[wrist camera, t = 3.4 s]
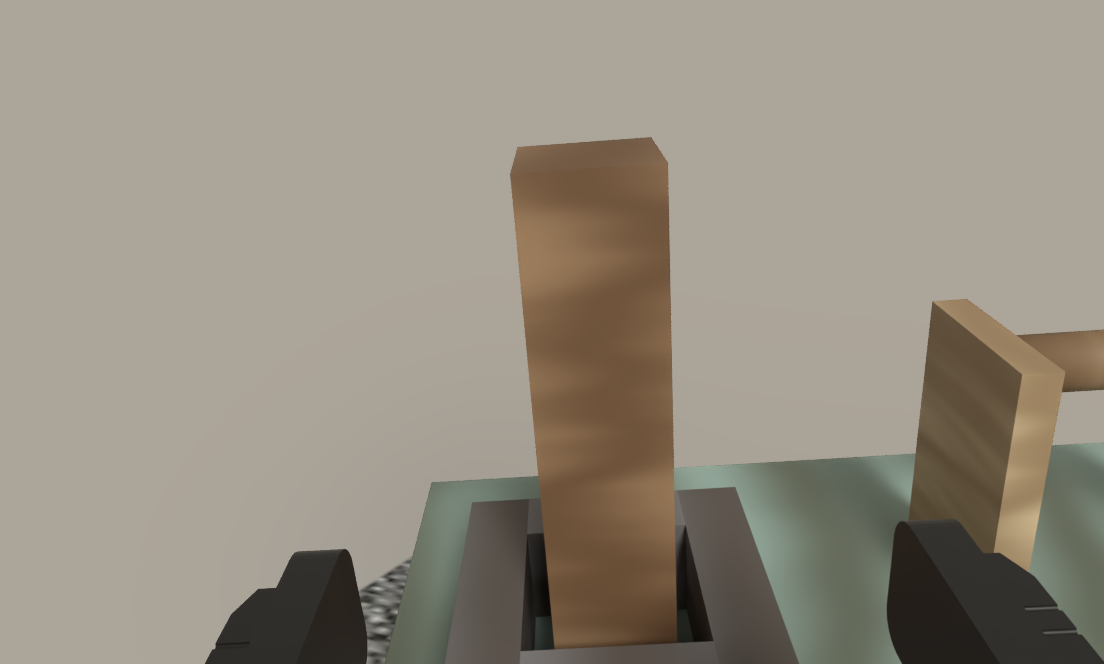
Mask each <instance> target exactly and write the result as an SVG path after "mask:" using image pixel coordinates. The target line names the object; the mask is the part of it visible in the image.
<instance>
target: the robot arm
mask: <svg viewBox="0 0 1104 664" xmlns="http://www.w3.org/2000/svg"><path fill="white" fill-rule="evenodd" d="M887 622H888V628H889V633H890V637H891V641H892V644H893V646H894V649H895V651H896V653H897V655H898V657H899V659H900V661H901V663H902V664H1104V661H1103V660H1102V659H1101V657H1100V656H1099V655H1098V654H1097V652H1096V651H1095V650H1094V649H1093V647H1092V646H1091V645H1090V644H1089V643H1088V641H1087V640H1086V639H1085V638H1084V636H1083V635H1082V634H1078V633H1077V628H1076V627H1075V625H1074V624H1073V623H1072V622H1071V620H1070V619H1069V618H1068V617H1067V615H1066V614H1065V613H1064V612H1063V611H1062V610H1059V609H1058V604H1057V603H1056V602H1055V601H1054V599H1053V598H1052V597H1051V596H1050V595H1049V593H1048V592H1047V591H1046V590H1045V588H1044V587H1043V586H1042V585H1041V583H1040V582H1039V581H1038V580H1037V579H1036V577H1035V576H1034V575H1032V574H1031V573H1029V572H1028V571H1026V570H1025V569H1023V568H1022V567H1020V566H1019V565H1017V564H1016V563H1014V562H1013V561H1011V560H1010V559H1008V558H1007V557H1006V556H1004V555H1003V554H1001V553H983V552H982V551H981V550H980V548H979V547H978V546H977V544H976V543H975V542H974V540H973V539H972V538H971V536H970V535H969V534H968V532H967V531H966V530H965V528H964V527H963V526H962V525H961V523H960V522H959V521H957V520H956V519H933V520H914V521H901V522H899V523H898V524H897V526H896V528H895V532H894V540H893V550H892V559H891V568H890V578H889V587H888V597H887ZM366 661H367V632H366V626H365V621H364V616H363V611H362V606H361V602H360V597H359V592H358V587H357V582H356V577H355V572H354V567H353V562H352V558H351V556H350V554H349V552H348V550H346V549H339V550H320V551H301V552H296V553H294V554H293V555H292V557H291V559H290V560H289V563H288V565H287V567H286V569H285V571H284V573H283V575H282V577H281V579H280V581H279V584H278V585H277V587H276V588H267V589H258V590H257V591H256V592H255V593H254V594H252V595H251V596H250V597H249V598H248V599H247V600H246V601H245V602H244V603H243V604H242V605H241V606H240V607H239V608H238V609H237V610H236V611H234V612H233V613H232V614H231V616H230V617H229V619H228V622H227V623H226V625H225V627H224V629H223V631H222V632H221V634H220V636H219V638H218V640H217V642H216V648H215V649H213V650H212V651H211V653H210V655H209V657H208V659H207V661H206V663H205V664H366Z"/></svg>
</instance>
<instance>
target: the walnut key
mask: <svg viewBox="0 0 1104 664" xmlns="http://www.w3.org/2000/svg"><path fill="white" fill-rule="evenodd" d="M510 176H511V186H512V198H513V208H514V218H515V230H516V239H517V251H518V262H519V273H520V283H521V294H522V304H523V315H524V326H525V337H526V347H527V358H528V369H529V380H530V390H531V400H532V412H533V422H534V432H535V443H536V455H537V465H538V475H539V487H540V497H541V508H542V519H543V529H544V540H545V551H546V562H547V572H548V583H549V594H550V604H551V615H552V626H553V636H554V647H555V649H574V648H593V647H612V646H631V645H650V644H669V643H677V602H676V551H675V501H674V451H673V399H672V349H671V299H670V252H669V197H668V162H667V161H666V159H665V158H664V156H663V155H662V153H661V151H660V150H659V148H658V147H657V145H656V144H655V142H654V141H653V139H652V138H651V137H650V138H649V137H648V138H635V139H622V140H608V141H594V142H580V143H567V144H554V145H540V146H526V147H517V151H516V155H515V158H514V162H513V166H512V170H511V174H510Z"/></svg>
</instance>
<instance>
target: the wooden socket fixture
mask: <svg viewBox="0 0 1104 664" xmlns="http://www.w3.org/2000/svg"><path fill="white" fill-rule="evenodd" d="M1091 390H1104V330H1092V331H1077V332H1060V333H1045V334H1029V335H1015V334H1014V333H1012V332H1011V331H1009V330H1008V329H1007V328H1005V327H1004V326H1003V325H1001V324H1000V323H999V322H997V321H996V320H994V319H993V318H992V317H991V316H989V315H988V314H986V313H985V312H984V311H983V310H981V309H980V308H978V307H977V306H976V305H974V304H973V303H972V302H970V301H969V300H967V299H961V300H946V301H933V302H932V311H931V320H930V329H929V338H928V348H927V356H926V365H925V375H924V383H923V393H922V401H921V411H920V419H919V429H918V438H917V447H916V454H903V455H885V456H868V457H853V458H837V459H820V460H819V459H818V460H801V461H785V462H768V463H751V464H736V465H735V464H734V465H718V466H701V467H684V468H674V501H675V551H676V602H677V643H669V644H650V645H631V646H612V647H593V648H574V649H555V647H554V636H553V626H552V615H551V604H550V594H549V583H548V572H547V562H546V551H545V540H544V529H543V519H542V508H541V497H540V487H539V476H533V477H518V478H501V479H483V480H467V481H449V482H434V483H433V482H432V484H431V488H430V491H429V495H428V499H427V503H426V507H425V510H424V514H423V518H422V522H421V526H420V530H419V533H418V537H417V542H416V545H415V549H414V553H413V557H412V560H411V564H410V568H409V572H408V576H407V580H406V584H405V587H404V591H403V595H402V599H401V603H400V607H399V610H398V614H397V618H396V622H395V626H394V630H393V634H392V637H391V641H390V645H389V649H388V653H387V657H386V660H385V664H902V663H901V661H900V659H899V657H898V655H897V653H896V651H895V649H894V646H893V644H892V641H891V637H890V633H889V628H888V622H887V597H888V587H889V578H890V568H891V559H892V550H893V540H894V532H895V528H896V526H897V524H898V523H899V522H901V521H914V520H933V519H956V520H957V521H959V522H960V523H961V525H962V526H963V527H964V528H965V530H966V531H967V532H968V534H969V535H970V536H971V538H972V539H973V540H974V542H975V543H976V544H977V546H978V547H979V548H980V550H981V551H982V552H983V553H1001V554H1003V555H1004V556H1006V557H1007V558H1008V559H1010V560H1011V561H1013V562H1014V563H1016V564H1017V565H1019V566H1020V567H1022V568H1023V569H1025V570H1026V571H1028V572H1029V573H1031V574H1032V575H1034V576H1035V577H1036V579H1037V580H1038V581H1039V582H1040V583H1041V585H1042V586H1043V587H1044V588H1045V590H1046V591H1047V592H1048V593H1049V595H1050V596H1051V597H1052V598H1053V599H1054V601H1055V602H1056V603H1057V604H1058V609H1059V610H1062V611H1063V612H1064V613H1065V614H1066V615H1067V617H1068V618H1069V619H1070V620H1071V622H1072V623H1073V624H1074V625H1075V627H1076V628H1077V633H1078V634H1082V635H1083V636H1084V638H1085V639H1086V640H1087V641H1088V643H1089V644H1090V645H1091V646H1092V647H1093V649H1094V650H1095V651H1096V652H1097V654H1098V655H1099V656H1100V657H1101V659H1102V660H1103V661H1104V442H1103V443H1087V444H1070V445H1055V446H1052V442H1053V436H1054V431H1055V426H1056V420H1057V415H1058V409H1059V404H1060V399H1061V393H1062V392H1074V391H1091Z"/></svg>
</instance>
